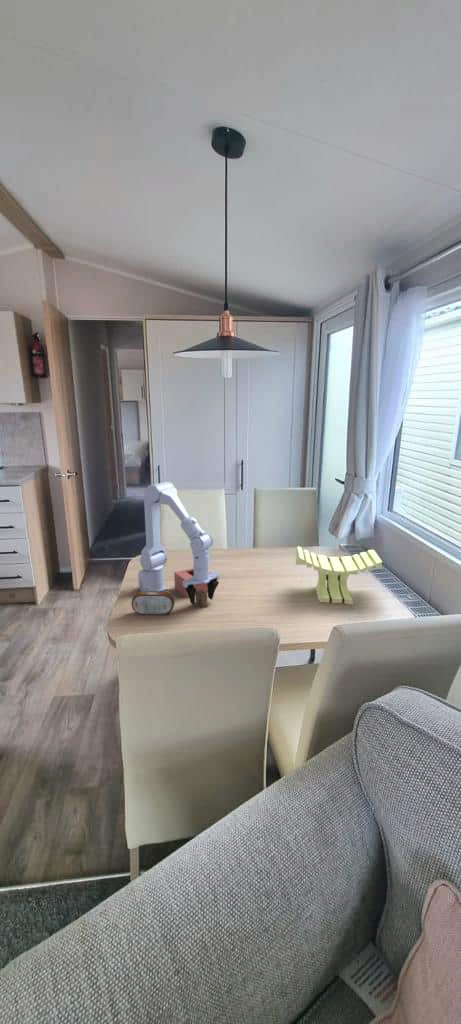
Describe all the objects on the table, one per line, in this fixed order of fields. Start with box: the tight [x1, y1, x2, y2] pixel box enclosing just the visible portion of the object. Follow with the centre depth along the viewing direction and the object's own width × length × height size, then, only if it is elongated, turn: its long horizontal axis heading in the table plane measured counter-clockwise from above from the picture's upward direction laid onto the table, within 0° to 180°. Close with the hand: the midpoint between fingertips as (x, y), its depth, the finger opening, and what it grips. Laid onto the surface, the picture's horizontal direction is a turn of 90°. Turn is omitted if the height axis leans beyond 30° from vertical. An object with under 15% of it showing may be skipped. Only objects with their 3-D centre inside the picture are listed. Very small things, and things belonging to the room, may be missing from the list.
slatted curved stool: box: [295, 546, 383, 605], centre depth 170 cm, size 30×16×18 cm, turn 86°
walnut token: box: [195, 589, 208, 609], centre depth 161 cm, size 2×5×5 cm, turn 34°
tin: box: [131, 590, 176, 616], centre depth 153 cm, size 15×3×8 cm, turn 92°
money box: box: [173, 567, 213, 598], centre depth 173 cm, size 12×10×7 cm
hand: (201, 600), depth 161 cm, fingers open, 7 cm apart
